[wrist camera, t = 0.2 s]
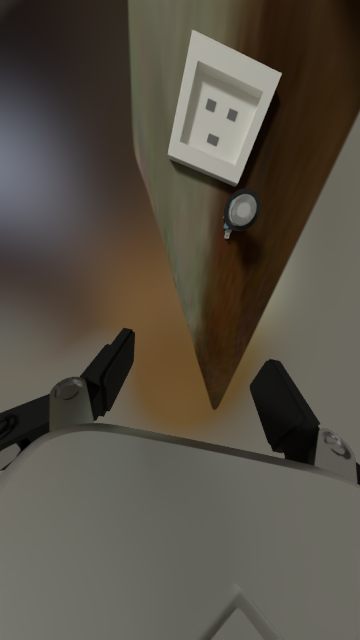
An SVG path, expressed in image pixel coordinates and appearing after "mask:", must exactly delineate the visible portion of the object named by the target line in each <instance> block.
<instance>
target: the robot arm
mask: <svg viewBox="0 0 360 640" xmlns="http://www.w3.org/2000/svg"><path fill="white" fill-rule="evenodd" d="M134 343H135V332H133V331H132V329H127V328H123V330H122V331H121V332H120V333H119V335H118V336H117V337H116V338H115V340H114V341H113V342H112V344H111V345H109V344H107V345H105V346H104V348H103V349H102V350H101V351H100V353H99V354H98V355H97V356H96V357H95V359H94V360H93V361H92V362H91V364H90V365H89V366H88V367H87V368H86V370H85V371H84V372H83V373H82V375H81V376H80V377H70V378H66V379H64V380H62V381H60V382H59V383H57V384H56V385H55V386H54V387H53V388H52V390H51V392H50V394H48V395H45V396H43V397H40V398H38V399H35V400H32V401H30V402H28V403H25V404H22V405H20V406H17V407H15V408H12V409H9V410H7V411H5V412H2V413H0V471H2V470H4V471H3V473H2V474H1V475H0V640H360V465H359V464H358V463H357V462H356V460H355V456H354V453H353V451H352V450H351V448H350V447H349V446H348V444H347V443H346V442H345V441H344V440H343V439H342V438H341V437H340V436H338V435H337V434H336V433H334V432H333V431H331V430H328V429H325V428H322V429H319V427H318V425H319V424H320V422H319V421H318V419H317V418H316V416H315V415H314V413H313V412H312V410H311V408H310V407H309V405H308V404H307V402H306V401H305V399H304V398H303V396H302V394H301V393H300V392H299V390H298V388H297V387H296V385H295V384H294V382H293V381H292V379H291V377H290V376H289V374H288V373H287V371H286V370H285V368H284V367H283V365H282V364H281V362H280V361H277V360H272V359H270V360H269V361H266V362H265V364H264V365H263V367H262V368H261V369H260V371H259V373H258V374H257V376H256V377H255V379H254V380H253V381H252V383H251V384H250V391H251V394H252V397H253V400H254V403H255V406H256V409H257V411H258V415H259V418H260V421H261V423H262V426H263V429H264V432H265V435H266V438H267V440H268V443H269V444H270V445H271V448H272V450H273V451H274V452H278V453H284V455H285V459H282V458H277V457H273V456H268V455H263V454H259V453H254V452H249V451H245V450H240V449H235V448H230V447H225V446H220V445H215V444H211V443H205V442H201V441H196V440H191V439H186V438H181V437H176V436H171V435H166V434H161V433H156V432H151V431H146V430H141V429H135V428H129V427H124V426H118V425H110V424H102V423H94V421H95V420H97V418H98V416H103V417H104V415H105V413H106V411H110V409H111V407H112V406H113V403H114V401H115V399H116V397H117V395H118V393H119V391H120V389H121V387H122V385H123V383H124V381H125V379H126V377H127V375H128V373H129V371H130V369H131V366H132V364H133V361H134Z"/></svg>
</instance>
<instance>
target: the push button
mask: <svg viewBox="0 0 360 640" xmlns="http://www.w3.org/2000/svg"><path fill="white" fill-rule="evenodd" d="M236 197H237V198H236ZM234 198H236V199H234ZM260 208H261V203H260V198H259V196H258V194H257V193H256V192H255V191H254V190H252V189H248V188H244V189H240V190H238V191H236V192H235V193H233V194H232V195H231V197H230V198H229V199H228V201H227V203H226V205H225V208H224V216H223V218H224V220H225V225H224V229H226V230H225V232H226V233H225V237H224V238H227V239H228V238H229V235H230V233H231V231H232V230H234V231H243V230H246V229H248V228H249V227H251V226H252V225H253V224H254V222H255V221H256V220H257V218H258V216H259V213H260ZM237 226H241V227H237ZM226 235H228V236H226Z"/></svg>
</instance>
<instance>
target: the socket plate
mask: <svg viewBox="0 0 360 640" xmlns="http://www.w3.org/2000/svg"><path fill="white" fill-rule="evenodd" d="M281 74H282V73H280V72H278V71H275V70H273V69H271V68H269V67H267V66H265V65H263V64H261V63H259V62H257V61H255V60H253V59H251V58H249V57H247V56H245V55H243V54H241V53H239V52H237V51H235V50H233V49H231V48H229V47H227V46H225V45H223V44H221V43H219V42H217V41H215V40H213V39H211V38H209V37H207V36H205V35H203V34H200V33H198V32H196V31H194V30H192V35H191V40H190V45H189V50H188V55H187V60H186V65H185V70H184V75H183V80H182V85H181V90H180V95H179V100H178V105H177V110H176V115H175V120H174V125H173V130H172V135H171V140H170V145H169V150H168V157H169V159H170V160H172V161H175V162H177V163H179V164H182V165H184V166H187V167H189V168H191V169H194V170H196V171H199V172H201V173H203V174H206V175H208V176H210V177H213V178H215V179H218V180H220V181H222V182H225V183H227V184H230V185H232V186H234V187H235V186H236V185H237V184H238V182H239V179H240V177H241V174H242V172H243V169H244V167H245V164H246V162H247V159H248V157H249V154H250V152H251V149H252V147H253V144H254V142H255V139H256V137H257V134H258V132H259V129H260V127H261V124H262V122H263V119H264V117H265V114H266V112H267V109H268V107H269V104H270V102H271V99H272V97H273V94H274V92H275V89H276V87H277V84H278V82H279V79H280V77H281Z"/></svg>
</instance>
